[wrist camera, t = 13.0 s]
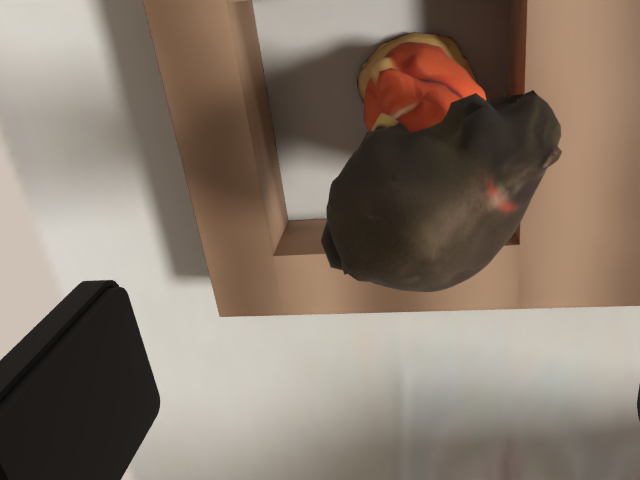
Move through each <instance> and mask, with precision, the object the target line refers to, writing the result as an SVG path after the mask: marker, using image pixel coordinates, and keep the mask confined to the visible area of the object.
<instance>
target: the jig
mask: <svg viewBox="0 0 640 480" xmlns="http://www.w3.org/2000/svg"><path fill="white" fill-rule="evenodd" d="M143 3H144V7H145V11H146V15H147V20H148V24H149V28H150V32H151V36H152V40H153V44H154V48H155V52H156V57H157V61H158V65H159V69H160V73H161V77H162V81H163V85H164V90H165V94H166V98H167V102H168V106H169V110H170V114H171V118H172V122H173V127H174V131H175V135H176V139H177V143H178V147H179V151H180V155H181V159H182V164H183V168H184V172H185V176H186V180H187V184H188V188H189V192H190V197H191V201H192V205H193V209H194V213H195V217H196V221H197V225H198V229H199V234H200V238H201V242H202V246H203V250H204V254H205V258H206V262H207V266H208V271H209V275H210V279H211V283H212V287H213V291H214V295H215V299H216V303H217V308H218V312H219V316H220V317H234V316H271V315H309V314H346V313H383V312H421V311H458V310H496V309H533V308H570V307H608V306H640V0H511V4H510V55H509V96H512V95H520V94H525V93H527V92H530V91H532V90H534V91H535V93H536V94H537V95H538V96H540V97H541V98H542V99H543V100H545V101H546V102H547V103H548V104H549V106H550V107H551V108H552V110H553V112H554V114H555V116H556V118H557V120H558V122H559V123H560V125H561V138H560V141H559V144H558V147H559V148H560V149H561V151H562V153H561V156H560V157H559V160H558V161H556V162H555V163H554V164H552V165H551V166H549V167H548V168H547V170H546V172H545V174H544V176H543V178H542V180H541V182H540V183H539V185H538V187H537V189H536V191H535V193H534V195H533V197H532V199H531V201H530V203H529V205H528V208H527V210H526V212H525V214H524V216H523V218H522V220H521V222H520V224H519V226H518V227H517V229H516V231H515V233H514V234H513V236H512V237H511V238H510V240H509V241H508V242H507V243H506V244H505V245H504V246H503V247H502V249H501V250H500V251H499V252H498V254H497V255H496V256H495V257H494V258H493V259H492V261H491V262H490V263H489V264H488V265H487V266H486V267H485V268H483V269H482V270H481V271H480V272H478V273H477V274H476V275H474V276H473V277H471V278H470V279H468V280H466V281H464V282H462V283H460V284H457V285H455V286H453V287H450V288H448V289H444V290H441V291H435V292H415V291H403V290H397V289H393V288H389V287H385V286H382V285H377V284H374V283H372V282H363V281H357V280H356V279H354V278H353V277H351V276H350V275H349V274H346V275H344V272H343V270H339V269H335V268H331V267H330V264H329V261H328V259H327V256H326V254H325V251H324V248H323V246H322V243H321V238H322V235H323V231H324V228H325V225H326V222H327V219H316V220H298V221H288V216H287V210H286V204H285V198H284V192H283V186H282V180H281V174H280V168H279V162H278V156H277V150H276V144H275V138H274V132H273V126H272V119H271V113H270V107H269V101H268V95H267V89H266V83H265V77H264V71H263V65H262V59H261V53H260V47H259V41H258V35H257V29H256V23H255V17H254V10H253V4H252V0H143Z"/></svg>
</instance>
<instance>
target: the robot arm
mask: <svg viewBox="0 0 640 480" xmlns="http://www.w3.org/2000/svg"><path fill="white" fill-rule="evenodd" d="M159 408H160V396H159V392H158V389H157V386H156V383H155V379H154V376H153V373H152V370H151V367H150V363H149V360H148V357H147V354H146V351H145V347H144V344H143V341H142V338H141V335H140V331H139V328H138V325H137V322H136V319H135V315H134V312H133V309H132V306H131V303H130V299H129V296H128V294H127V291H126V290H125V289H124V288H122V287H119V285H118V284H117V283H116V282H115V281H113V280H101V281H83V282H81V283H80V284H79V285H78V286H77V287H76V288H75V289H73V290H72V291H71V292H70V293H69V294H68V295H67V296H66V297H65V298H64V299H63V300H62V301H61V302H60V303H59V304H58V305H57V306H56V307H55V308H54V309H53V310H52V311H51V312H50V313H49V314H48V315H47V316H46V317H45V318H44V319H43V320H42V321H41V322H40V323H38V324H37V325H36V327H34V328H33V330H31V331H30V332H29V333H28V334H27V335H26V336H25V337H24V338H23V339H22V340H21V341H20V342H19V343H18V344H17V345H16V346H15V347H14V348H13V349H12V350H11V351H10V352H9V353H8V354H7V355H6V356H4V357H3V359H1V361H0V480H121V478H122V476H123V475H124V473H125V471H126V469H127V468H128V466H129V464H130V462H131V461H132V459H133V457H134V455H135V454H136V452H137V450H138V448H139V447H140V445H141V443H142V441H143V440H144V438H145V436H146V434H147V433H148V431H149V429H150V427H151V426H152V424H153V422H154V420H155V418H156V417H157V415H158V412H159ZM637 410H638V416H639V420H640V386H639V393H638V400H637Z"/></svg>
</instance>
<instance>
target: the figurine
mask: <svg viewBox="0 0 640 480" xmlns="http://www.w3.org/2000/svg"><path fill="white" fill-rule="evenodd" d="M357 84H358V91H359V95H360V97H361V99H362V101H363V103H364V104H365V105H364V120H365V123H366V126H367V128H368V129H369V131H370V132H368V133H367V134H366V136H365V138H364V139H363V141H362V143H361V145H360V146H359V148H358V149H357V150H356V151H355V153H354V154H353V155H352V156H351V158H350V159H349V160H348V162H347V163H346V165H345V167H344V168H343V170H342V171H341V173H340V174H339V176H338V177H337V178H336V179H335V180H334V181H333V182H332V184H331V188H330V193H329V201H328V204H327V222H326V225H325V228H324V231H323V235H322V238H321V243H322V246H323V248H324V251H325V254H326V256H327V259H328V261H329V264H330V267H331V268H335V269H339V270H343V272H344V275H346V274H349V275H350V276H351V277H353V278H354V279H356V280H357V281H363V282H372V283H374V284H377V285H382V286H385V287H389V288H393V289H397V290H403V291H415V292H435V291H441V290H444V289H448V288H450V287H453V286H455V285H457V284H460V283H462V282H464V281H466V280H468V279H470V278H471V277H473V276H474V275H476V274H477V273H478V272H480V271H481V270H482V269H483V268H485V267H486V266H487V265H488V264H489V263H490V262H491V261H492V259H493V258H494V257H495V256H496V255H497V254H498V252H499V251H500V250H501V249H502V247H503V246H504V245H505V244H506V243H507V242H508V241H509V240H510V238H511V237H512V236H513V234H514V233H515V231H516V229H517V227H518V226H519V224H520V222H521V220H522V218H523V216H524V214H525V212H526V210H527V208H528V205H529V203H530V201H531V199H532V197H533V195H534V193H535V191H536V189H537V187H538V185H539V183H540V182H541V180H542V178H543V176H544V174H545V172H546V170H547V168H548V167H549V166H551V165H552V164H554V163H555V162H556V161H558V160H559V157H560V156H561V153H562V151H561V149H560V148H559V147H558V144H559V141H560V138H561V125H560V123H559V122H558V120H557V118H556V116H555V114H554V112H553V110H552V108H551V107H550V106H549V104H548V103H547V102H546V101H545V100H543V99H542V98H541V97H540V96H538V95H537V94H536V93H535V91H534V90H532V91H530V92H527V93H525V94H520V95H512V96H506V97H501V98H496V99H493V100H491V101H489V102H487V100H486V95H485V92H484V90H483V89H482V88H481V87H480V86H479V85H478V84H477V81H476V79H475V77H474V75H473V73H472V71H471V68H470V65H469V62H468V60H467V59H466V58H465V57H464V56H463V55H462V53H461V52H460V49H459V48H458V46H457V44H456V43H455V42H454V41H453V39H452V38H451V37H443V36H439V35H435V34H433V33H432V34H424V33H417V32H414V33H410V34H407V35H404V36H401V37H399V38H397V39H394V40H392V41H389V42H387V43H385V44H383V45H381V46H380V47H379V48H378V49H377V50H376V51H375V52H374V53H373V54H372V55H371V56H370V58H369V59H368V61H367V62H365V63H364V64H363V66H362V68H361V71H360V73H359V75H358V77H357Z"/></svg>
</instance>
